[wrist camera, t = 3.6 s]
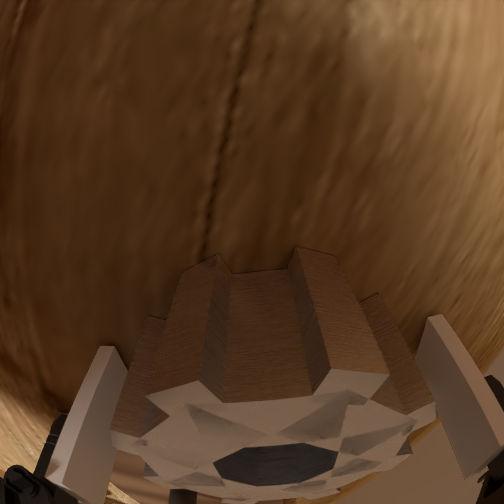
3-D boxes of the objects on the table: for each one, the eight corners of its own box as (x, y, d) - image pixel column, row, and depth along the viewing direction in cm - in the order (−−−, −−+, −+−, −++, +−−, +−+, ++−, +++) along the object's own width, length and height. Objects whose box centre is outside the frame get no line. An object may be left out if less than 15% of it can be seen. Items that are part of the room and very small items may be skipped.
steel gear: (117, 263, 10) (50, 372, 5) (399, 235, 10) (482, 333, 5) (183, 419, 14) (172, 502, 10) (365, 402, 14) (388, 483, 10)
